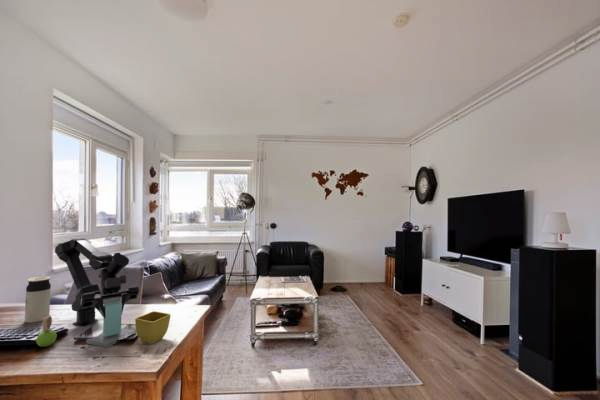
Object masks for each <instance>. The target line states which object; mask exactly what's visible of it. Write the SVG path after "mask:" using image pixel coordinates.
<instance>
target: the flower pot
mask: <svg viewBox="0 0 600 400" xmlns="http://www.w3.org/2000/svg"><path fill="white" fill-rule="evenodd" d="M170 319H171V314H170V313H167V312H161V311H154V310H152V311H150V312H148V313H145V314H143V315H140V316H137V317H135V319H134V321H135V333H136V335H137V337H138V338H139V340H140V342H141V343H146V344H151V345H152V344H155V343H156V342H158V341H160V340H162V339H163V338H164V337H165V335H166V333H167V332H168V329H169V326H170V322H171V321H170Z"/></svg>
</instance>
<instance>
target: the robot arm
mask: <svg viewBox="0 0 600 400" xmlns="http://www.w3.org/2000/svg"><path fill="white" fill-rule="evenodd" d="M54 252H55V255H56V256H57V258H58V259H59V260H60V261H63V262H64V263H65V264H66V266H67V268H68V271H69V272H70V273H69V274H70V275H71V278H72V280H73V282H74V286H75V288H76V290H77V291H76V294H75V300H74V301H73V303H72V304H70V305H71V311H73V312H76V321H75V322H73V323H72V325H74V326H82V327H85V326H87V325H90V324H93V323H95V322H98V321H99V319H98V318H97V319H96V310H97V312H99V314H100V315H101V316H102V318H103V319H104V318H105V309H104V301H105V300H110V299H117V298H120V302H121V303H122V313H123V311H124V308H125V304H126V303H128V302H129V301H130V300H136V299H138V297H139V296H138V295H139V293H140V287H139V286H138V285H135V286H130V287H129V286H128V287H127V288H126V290H124V291H121V289H122V287H121V285H126V283H127V276H126V275H125V274H123V275H120V276H118V274H120V273H122V271H124V269H125V268H126V267H127V266H128V264H129V263H130V259H129V258H128V257H127V256H126V255H123V254H121V252H114V254H111V253H109V252H106V251H101V250H99V249H98V248H97V247H95V246H94V245H92V244H91V243H90V242H89V241H88V240H87V239H86V238H84V237H79V238H72V239H70V240H69V241H65V242H62V243H58V244H57V246H55V248H54ZM81 255H83V256H84V257H85V258H86V259H87V260H89V262H88V265H89V266H90V268H92V269H93V270H95V271H97V270H100V273H99V274H98V278H99V279H100V287H101V289H100V288H99V285H98V284H93V283H91V281H90V278H89V275H87V272H86V270H85V267H84V265H83V263H82V261H81V259H80V256H81Z"/></svg>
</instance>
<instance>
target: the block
mask: <svg viewBox="0 0 600 400" xmlns="http://www.w3.org/2000/svg"><path fill="white" fill-rule="evenodd" d="M120 300H121V299H120ZM120 300H112V301H109V302H103V304H104V309H105V318H103V323H102V333H103V334H104V336H105V337H106V336H111V335H115V334H119V333H121V328H122V316H123V312H122V303H121V302H120Z"/></svg>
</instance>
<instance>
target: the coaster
mask: <svg viewBox="0 0 600 400" xmlns="http://www.w3.org/2000/svg"><path fill="white" fill-rule="evenodd" d="M134 331H135V332H136V329H130V328H129V329H128V328H122V327H121V333H119V334H115V335H111V336H106V337H105V336H104V334H103V332H102V334H101V333H100V334H101V335H99V334H98V335H99V336H98V337H96V338H92V337H91V338H92V339H90V338H88V339H86V341H85V344H88V345H92V346H98V347H103V348H109V347H110V346H113V345H114V344H117V343H118V342H117V340H118V339H119V337H120V336H123V335H125V334H127V333H128V334H129V333H132V332H134ZM116 342H117V343H116Z"/></svg>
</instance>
